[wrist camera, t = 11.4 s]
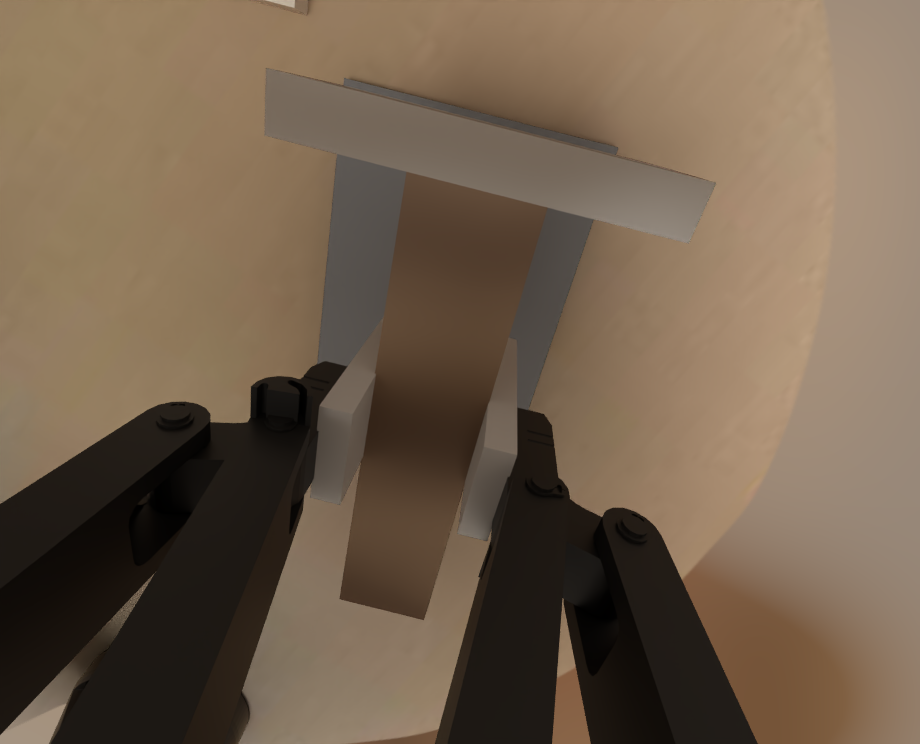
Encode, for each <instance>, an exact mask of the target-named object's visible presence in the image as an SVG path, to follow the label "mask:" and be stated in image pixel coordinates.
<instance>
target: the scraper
mask: <svg viewBox="0 0 920 744" xmlns="http://www.w3.org/2000/svg"><path fill="white" fill-rule="evenodd" d="M265 136H268V137H272V138H276V139H280V140H284V141H288V142H292V143H296V144H300V145H304V146H308V147H312V148H316V149H320V150H323V151H327V152H331V153H335V154H339V155H343V156H347V157H351V158H355V159H359V160H363V161H367V162H371V163H374V164H378V165H382V166H386V167H390V168H394V169H398V170H402V171H406V178H405V184H404V190H403V197H402V203H401V210H400V216H399V222H398V229H397V235H396V242H395V248H394V254H393V261H392V267H391V273H390V280H389V286H388V293H387V299H386V305H385V312H384V318H383V325H382V331H381V337H380V344H379V350H378V357H377V363H376V369H375V374H376V377H375V384H374V390H373V397H372V403H371V409H370V416H369V422H368V429H367V435H366V441H365V448H364V454H363V458H362V460H361V465H360V472H359V478H358V485H357V491H356V497H355V504H354V510H353V517H352V523H351V529H350V536H349V542H348V548H347V555H346V561H345V568H344V574H343V580H342V587H341V593H340V599H341V600H345V601H349V602H353V603H357V604H361V605H365V606H370V607H374V608H378V609H382V610H386V611H390V612H394V613H398V614H402V615H406V616H410V617H414V618H418V619H422V620H424V618H425V615H426V611H427V608H428V605H429V601H430V598H431V595H432V591H433V588H434V585H435V581H436V578H437V575H438V571H439V568H440V565H441V561H442V558H443V555H444V551H445V548H446V545H447V541H448V538H449V535H450V531H451V528H452V525H453V521H454V518H455V515H456V512H457V508H458V505H459V502H460V498H461V495H462V492H463V488H464V485H465V480H466V476H467V473H468V470H469V466H470V463H471V460H472V456H473V453H474V450H475V446H476V443H477V439H478V436H479V433H480V429H481V426H482V423H483V419H484V416H485V413H486V409H487V406H488V403H489V402H490V398H491V395H492V392H493V388H494V385H495V382H496V378H497V375H498V372H499V368H500V365H501V362H502V358H503V355H504V352H505V348H506V345H507V342H508V338H509V335H510V332H511V328H512V325H513V322H514V318H515V315H516V312H517V309H518V305H519V302H520V299H521V295H522V292H523V289H524V285H525V282H526V279H527V275H528V272H529V269H530V265H531V262H532V259H533V255H534V252H535V249H536V245H537V242H538V239H539V235H540V232H541V229H542V225H543V222H544V219H545V215H546V212H547V209H548V208H551V209H555V210H559V211H563V212H567V213H571V214H575V215H579V216H583V217H587V218H591V219H594V220H598V221H602V222H606V223H610V224H614V225H618V226H622V227H626V228H630V229H634V230H638V231H642V232H645V233H649V234H653V235H657V236H661V237H665V238H669V239H673V240H677V241H681V242H685V243H689V242H690V239H691V237H692V235H693V233H694V231H695V228H696V226H697V224H698V222H699V220H700V217H701V215H702V213H703V211H704V209H705V206H706V204H707V202H708V200H709V198H710V195H711V193H712V191H713V189H714V187H715V184H716V183H715V182H712V181H708V180H705V179H701V178H698V177H695V176H691V175H688V174H684V173H681V172H677V171H674V170H670V169H667V168H664V167H660V166H657V165H653V164H649V163H646V162H642V161H638V160H634V159H630V158H626V157H622V156H618V155H614V154H610V153H606V152H603V151H599V150H595V149H591V148H587V147H583V146H579V145H575V144H571V143H567V142H563V141H559V140H556V139H552V138H548V137H544V136H540V135H536V134H532V133H528V132H524V131H520V130H516V129H513V128H509V127H505V126H501V125H497V124H493V123H489V122H485V121H481V120H477V119H473V118H469V117H466V116H462V115H458V114H454V113H450V112H446V111H442V110H438V109H434V108H430V107H426V106H423V105H419V104H415V103H411V102H407V101H403V100H399V99H395V98H391V97H387V96H383V95H379V94H376V93H372V92H368V91H364V90H360V89H356V88H352V87H348V86H344V85H339V84H335V83H331V82H326V81H322V80H317V79H313V78H309V77H304V76H300V75H295V74H291V73H287V72H282V71H278V70H274V69H269V68H266V90H265Z"/></svg>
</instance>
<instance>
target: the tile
mask: <svg viewBox="0 0 920 744" xmlns="http://www.w3.org/2000/svg"><path fill="white" fill-rule="evenodd" d="M250 1H254V2H258V3H261V4H265V5H269V6H273V7H277V8H281V9H284V10H288V11H292V12H296V13H300V14H304V15H307V12H308V0H250Z"/></svg>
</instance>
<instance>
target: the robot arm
mask: <svg viewBox="0 0 920 744" xmlns="http://www.w3.org/2000/svg"><path fill="white" fill-rule="evenodd" d="M383 318H384V317H383ZM383 318H382V320H381V321H380V322H379V324H378V325H377V326H376V328H375V329H374V331H373V332H372V333H371V335H370V336H369V338H368V339H367V340H366V342H365V343H364V345H363V346H362V347H361V349H360V350H359V351H358V353H357V354H356V356H355V357H354V358H353V360H352V361H351V363H350V364H349V365H348V366H344V365H340V364H336V363H332V362H328V361H324V362H321V363H319V364H317V365H315V366H312V367H311V368H310V369H309V370H308V371H307V373H306V374H305V375H304V377H303V378H301V379H296V378H292V377H283V376H276V377H268V378H265V379H262V380H259V381H257V382H256V383H255V384H254V385H252V386H251V418H250V419H249V421H248V422H246V423H211V422H210V413H209V412H208V411H207V409H206V408H204V407H202V406H200V405H198V404H195V403H189V402H170V403H165V404H160V405H157V406H155V407H153V408H151V409H149V410H147V411H145V412H144V413H142V414H140V415H139V416H137V417H136V418H134V419H133V420H131V421H130V422H128V423H126V424H125V425H123V426H122V427H120V428H119V429H117V430H115V431H114V432H112V433H111V434H109V435H108V436H106V437H104V438H103V439H101V440H100V441H98V442H97V443H95V444H94V445H92V446H90V447H89V448H87V449H86V450H84V451H83V452H81V453H79V454H78V455H76V456H75V457H73V458H72V459H70V460H69V461H67V462H65V463H64V464H62V465H61V466H59V467H58V468H56V469H54V470H53V471H51V472H50V473H48V474H47V475H45V476H43V477H42V478H40V479H39V480H37V481H36V482H34V483H33V484H31V485H29V486H28V487H26V488H25V489H23V490H22V491H20V492H18V493H17V494H15V495H14V496H12V497H11V498H9V499H7V500H6V501H4V502H3V503H1V504H0V735H1V734H2V733H3V731H4V730H5V729H6V728H7V727H8V726H9V725H10V724H11V723H12V722H13V721H14V720H15V719H16V718H17V717H18V716H19V715H20V714H21V713H22V712H23V710H24V709H25V708H26V707H27V706H28V705H29V704H30V703H31V702H32V701H33V700H34V699H35V698H36V697H37V696H38V695H39V694H40V693H41V692H42V691H43V689H44V688H45V687H46V686H47V685H48V684H49V683H50V682H51V681H52V680H53V679H54V678H55V677H56V676H57V675H58V674H59V673H60V672H61V671H62V670H63V668H64V667H65V666H66V665H67V664H68V663H69V662H70V661H71V660H72V659H73V658H74V657H75V656H76V655H77V654H78V653H79V652H80V651H81V650H82V649H83V647H84V646H85V645H86V644H87V643H88V642H89V641H90V640H91V639H92V638H93V637H94V636H95V635H96V634H97V633H98V632H99V631H100V630H101V629H102V627H103V626H104V625H105V624H106V623H107V622H108V621H109V620H110V619H111V618H112V617H113V616H114V615H115V614H116V613H117V612H118V611H119V610H120V609H121V608H122V606H123V605H124V604H125V603H126V602H127V601H128V600H129V599H130V598H131V597H132V596H133V595H134V594H135V593H136V592H137V591H138V590H139V589H140V588H141V587H142V585H143V584H144V583H145V582H146V581H147V580H148V579H149V578H150V577H151V576H152V575H153V574H154V573H155V572H156V573H155V574H154V576H153V577H152V579H151V581H150V582H149V584H148V586H147V587H146V589H145V590H144V592H143V594H142V595H141V597H140V599H139V600H138V602H137V603H136V605H135V607H134V608H133V610H132V612H131V613H130V615H129V617H128V618H127V620H126V621H125V623H124V625H123V626H122V628H121V630H120V631H119V633H118V634H117V636H116V638H115V639H114V641H113V643H112V644H111V646H110V647H109V649H108V650H107V651H105V652H103V653H102V654H100V655H99V656H98V657H97V658H96V659H95V660H94V662H93V663H92V664H91V665H90V667H89V668H88V669H87V670H86V672H85V673H84V674H83V675H82V677H81V678H80V679H79V680H78V682H77V684H76V685H75V687H74V689H73V691H72V693H71V695H70V698H69V700H68V702H67V704H66V707H65V709H64V711H63V714H62V716H61V718H60V720H59V723H58V725H57V727H56V729H55V731H54V734H53V736H52V738H51V740H50V743H49V744H238V743H239V741H240V739H241V737H242V734H243V732H244V730H245V728H246V726H247V723H248V720H249V711H248V707H247V704H246V702H245V700H244V698H243V697H242V695H241V692H242V689H243V686H244V683H245V680H246V677H247V674H248V671H249V668H250V665H251V662H252V659H253V656H254V653H255V650H256V647H257V644H258V641H259V638H260V635H261V632H262V629H263V627H264V624H265V621H266V618H267V615H268V612H269V609H270V606H271V603H272V600H273V597H274V594H275V591H276V588H277V585H278V582H279V579H280V576H281V573H282V570H283V567H284V564H285V561H286V559H287V556H288V553H289V550H290V547H291V544H292V541H293V538H294V535H295V532H296V529H297V526H298V523H299V520H300V517H301V514H302V511H303V502H304V494H305V493H306V491H307V489H308V488H309V486H310V484H311V483H312V484H311V495H310V498H314V499H318V500H322V501H326V502H330V503H334V504H338V505H340V504H341V502H342V500H343V498H344V496H345V494H346V491H347V489H348V487H349V485H350V483H351V481H352V479H353V477H354V474H355V472H356V470H357V468H358V466H359V464H360V462H361V460H362V458H363V454H364V448H365V441H366V435H367V429H368V422H369V416H370V409H371V403H372V397H373V390H374V384H375V377H376V374H375V369H376V363H377V357H378V350H379V344H380V337H381V331H382V325H383ZM491 529H492V533H491V542H490V545H489V548H488V551H487V554H486V556H485V559H484V562H483V565H482V568H481V570H480V573H479V576H478V577H480V579H479V583H478V586H477V590H476V594H475V597H474V601H473V605H472V608H471V612H470V616H469V620H468V623H467V627H466V631H465V634H464V638H463V642H462V645H461V649H460V653H459V657H458V660H457V664H456V668H455V671H454V675H453V679H452V682H451V686H450V690H449V694H448V697H447V701H446V705H445V708H444V712H443V716H442V719H441V723H440V727H439V731H438V734H437V738H436V742H435V744H552V735H553V722H554V707H555V694H556V680H557V666H558V652H559V638H560V624H561V610H562V598H563V599H564V608H565V613H566V618H567V623H568V629H569V634H570V639H571V644H572V649H573V654H574V659H575V664H576V670H577V675H578V680H579V685H580V690H581V695H582V700H583V705H584V710H585V716H586V721H587V726H588V731H589V736H590V741H591V744H758V743H757V741H756V739H755V737H754V735H753V733H752V731H751V729H750V726H749V724H748V722H747V720H746V718H745V715H744V713H743V711H742V709H741V707H740V705H739V702H738V700H737V698H736V696H735V694H734V692H733V689H732V687H731V685H730V683H729V681H728V679H727V677H726V675H725V672H724V670H723V668H722V666H721V664H720V661H719V659H718V657H717V655H716V653H715V651H714V648H713V646H712V644H711V642H710V640H709V638H708V636H707V633H706V631H705V629H704V627H703V625H702V623H701V620H700V618H699V616H698V614H697V612H696V610H695V607H694V605H693V603H692V601H691V599H690V597H689V594H688V592H687V591H686V588H685V586H684V584H683V582H682V579H681V577H680V575H679V573H678V571H677V569H676V566H675V564H674V562H673V560H672V558H671V556H670V553H669V551H668V549H667V547H666V545H665V543H664V540H663V538H662V536H661V534H660V533H659V531H658V530H657V529H656V527H655V526H654V525H653V524H652V523H651V522H650V521H649V520H647V519H646V518H645V517H643V516H641V515H640V514H638V513H636V512H634V511H631V510H628V509H625V508H611V509H609V510H606V512H605V513H604V515H603V516H602V517H600V516H598V515H596V514H594V513H592V512H590V511H588V510H586V509H584V508H582V507H581V506H579V505H577V504H576V503H575V502H573V501H572V500H571V499H570V495H569V491H568V488H567V486H566V485H565V484H564V482H563V481H562V480H561V479H559V478H558V473H557V464H556V456H555V448H554V440H553V432H552V425H551V424H550V422H549V421H548V419H547V418H546V417H545V415H544V414H542V413H538V412H534V411H530V410H526V409H521V408H517V340H515V339H511V338H508V342H507V345H506V348H505V352H504V355H503V358H502V362H501V365H500V368H499V372H498V375H497V378H496V382H495V385H494V388H493V392H492V395H491V398H490V402H489V403H488V406H487V409H486V413H485V416H484V419H483V423H482V426H481V429H480V433H479V436H478V439H477V443H476V446H475V450H474V453H473V456H472V460H471V463H470V466H469V470H468V473H467V476H466V480H465V485H464V492H463V499H462V505H461V512H460V519H459V526H458V533H457V534H460V535H464V536H468V537H472V538H476V539H480V540H484V541H487V540H488V537H489V534H490V531H491Z"/></svg>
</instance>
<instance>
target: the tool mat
mask: <svg viewBox="0 0 920 744" xmlns="http://www.w3.org/2000/svg"><path fill="white" fill-rule="evenodd" d="M344 86H348V87H352V88H356V89H360V90H364V91H368V92H372V93H376V94H379V95H383V96H387V97H391V98H395V99H399V100H403V101H407V102H411V103H415V104H419V105H423V106H426V107H430V108H434V109H438V110H442V111H446V112H450V113H454V114H458V115H462V116H466V117H469V118H473V119H477V120H481V121H485V122H489V123H493V124H497V125H501V126H505V127H509V128H513V129H516V130H520V131H524V132H528V133H532V134H536V135H540V136H544V137H548V138H552V139H556V140H559V141H563V142H567V143H571V144H575V145H579V146H583V147H587V148H591V149H595V150H599V151H603V152H606V153H610V154H614V155H616V153H617V150H618V147H614V146H610V145H606V144H602V143H598V142H594V141H590V140H586V139H582V138H579V137H575V136H571V135H567V134H563V133H559V132H555V131H551V130H547V129H543V128H539V127H535V126H531V125H527V124H523V123H519V122H516V121H512V120H508V119H504V118H500V117H496V116H492V115H488V114H484V113H480V112H476V111H472V110H468V109H464V108H460V107H456V106H453V105H449V104H445V103H441V102H437V101H433V100H429V99H425V98H421V97H417V96H413V95H409V94H405V93H401V92H397V91H393V90H390V89H386V88H382V87H378V86H374V85H370V84H366V83H362V82H358V81H354V80H350V79H346V78H344ZM405 178H406V171H402V170H398V169H394V168H390V167H386V166H382V165H378V164H374V163H371V162H367V161H363V160H359V159H355V158H351V157H347V156H343V155H339V154H337V160H336V171H335V181H334V192H333V203H332V213H331V224H330V235H329V245H328V256H327V266H326V277H325V288H324V298H323V309H322V320H321V330H320V341H319V351H318V362H317V364H319V363H321V362H324V361H328V362H332V363H336V364H340V365H344V366H348V365H349V364H350V363H351V361H352V360H353V358H354V357H355V356H356V354H357V353H358V351H359V350H360V349H361V347H362V346H363V345H364V343H365V342H366V340H367V339H368V338H369V336H370V335H371V333H372V332H373V331H374V329H375V328H376V326H377V325H378V324H379V322H380V321H381V320H382V318H383V317H384V312H385V305H386V299H387V293H388V286H389V280H390V273H391V267H392V261H393V254H394V248H395V242H396V235H397V229H398V222H399V216H400V210H401V203H402V197H403V190H404V184H405ZM593 220H594V219H591V218H587V217H583V216H579V215H575V214H571V213H567V212H563V211H559V210H555V209H551V208H548V209H547V212H546V215H545V219H544V222H543V225H542V229H541V232H540V235H539V239H538V242H537V245H536V249H535V252H534V255H533V259H532V262H531V265H530V269H529V272H528V275H527V279H526V282H525V285H524V289H523V292H522V295H521V299H520V302H519V305H518V309H517V312H516V315H515V318H514V322H513V325H512V328H511V332H510V335H509V338H511V339H515V340H517V408H521V409H526V410H528V409H529V406H530V403H531V400H532V397H533V395H534V392H535V389H536V386H537V383H538V380H539V377H540V374H541V371H542V368H543V365H544V363H545V360H546V357H547V354H548V351H549V348H550V345H551V342H552V339H553V336H554V333H555V331H556V328H557V325H558V322H559V319H560V316H561V313H562V310H563V307H564V304H565V301H566V299H567V296H568V293H569V290H570V287H571V284H572V281H573V278H574V275H575V272H576V269H577V267H578V264H579V261H580V258H581V255H582V252H583V249H584V246H585V243H586V240H587V237H588V235H589V232H590V229H591V226H592V223H593Z"/></svg>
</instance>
